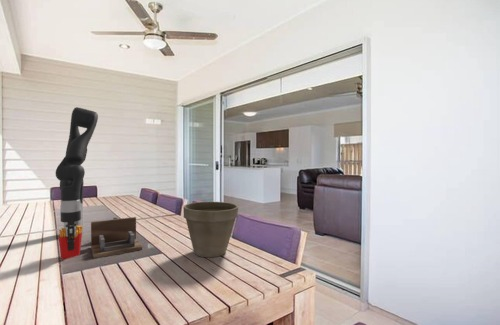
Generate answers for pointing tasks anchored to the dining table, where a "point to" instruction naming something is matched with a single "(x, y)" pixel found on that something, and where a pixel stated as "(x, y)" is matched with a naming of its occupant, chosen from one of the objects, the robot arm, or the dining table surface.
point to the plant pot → (210, 226)
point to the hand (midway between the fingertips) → (71, 248)
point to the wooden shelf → (114, 237)
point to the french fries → (64, 244)
